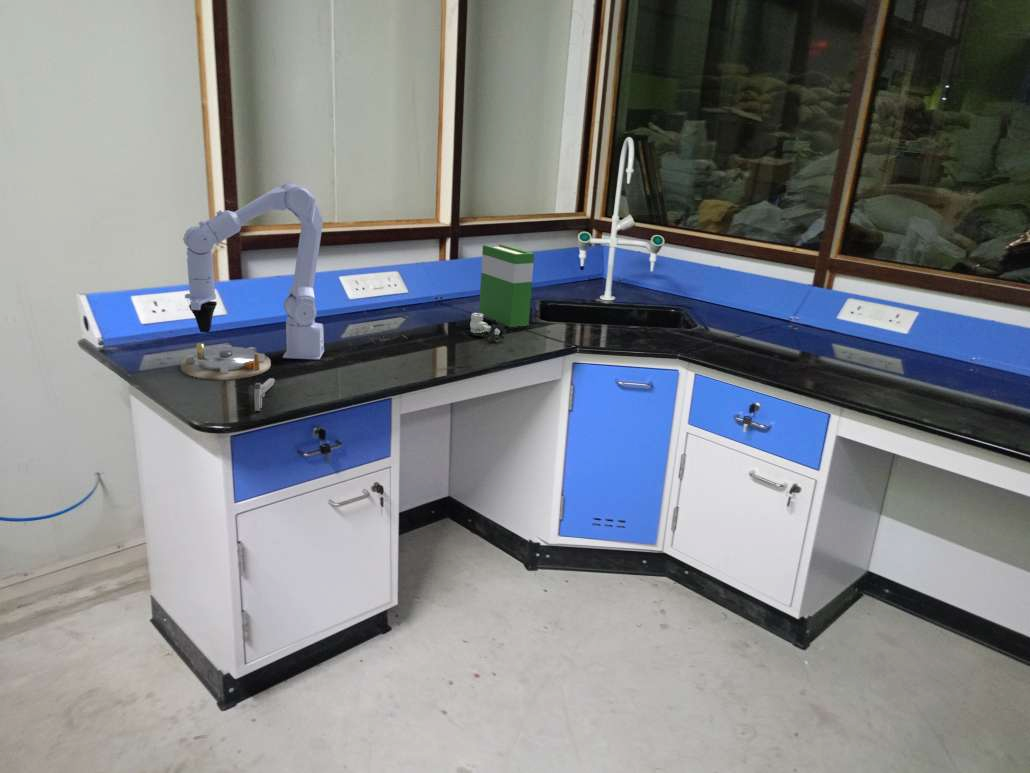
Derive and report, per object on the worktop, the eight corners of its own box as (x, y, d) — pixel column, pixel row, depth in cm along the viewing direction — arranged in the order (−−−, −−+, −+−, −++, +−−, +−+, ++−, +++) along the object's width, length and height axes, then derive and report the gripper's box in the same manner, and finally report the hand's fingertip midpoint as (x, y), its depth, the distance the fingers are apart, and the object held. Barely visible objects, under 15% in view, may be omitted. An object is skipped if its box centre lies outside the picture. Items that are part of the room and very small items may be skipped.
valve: (463, 334, 234) (489, 344, 226) (464, 313, 232) (491, 323, 224) (480, 332, 238) (506, 341, 230) (481, 311, 236) (507, 320, 228)
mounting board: (278, 355, 201) (278, 337, 200) (259, 381, 181) (258, 361, 180) (196, 351, 199) (195, 333, 198) (168, 377, 179) (166, 357, 178)
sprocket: (228, 346, 201) (227, 327, 200) (280, 359, 194) (279, 340, 192) (170, 362, 186) (168, 341, 184) (223, 377, 178) (222, 356, 177)
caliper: (260, 413, 164) (259, 386, 162) (254, 413, 164) (253, 386, 161) (275, 382, 183) (274, 357, 181) (270, 382, 183) (269, 357, 180)
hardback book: (478, 316, 256) (482, 245, 248) (496, 314, 260) (501, 244, 253) (510, 329, 243) (515, 254, 235) (528, 327, 247) (534, 253, 240)
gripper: (191, 270, 191) (195, 323, 195) (175, 283, 177) (179, 339, 182) (221, 272, 192) (224, 324, 196) (206, 284, 178) (210, 340, 183)
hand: (205, 331), depth 189 cm, fingers closed
